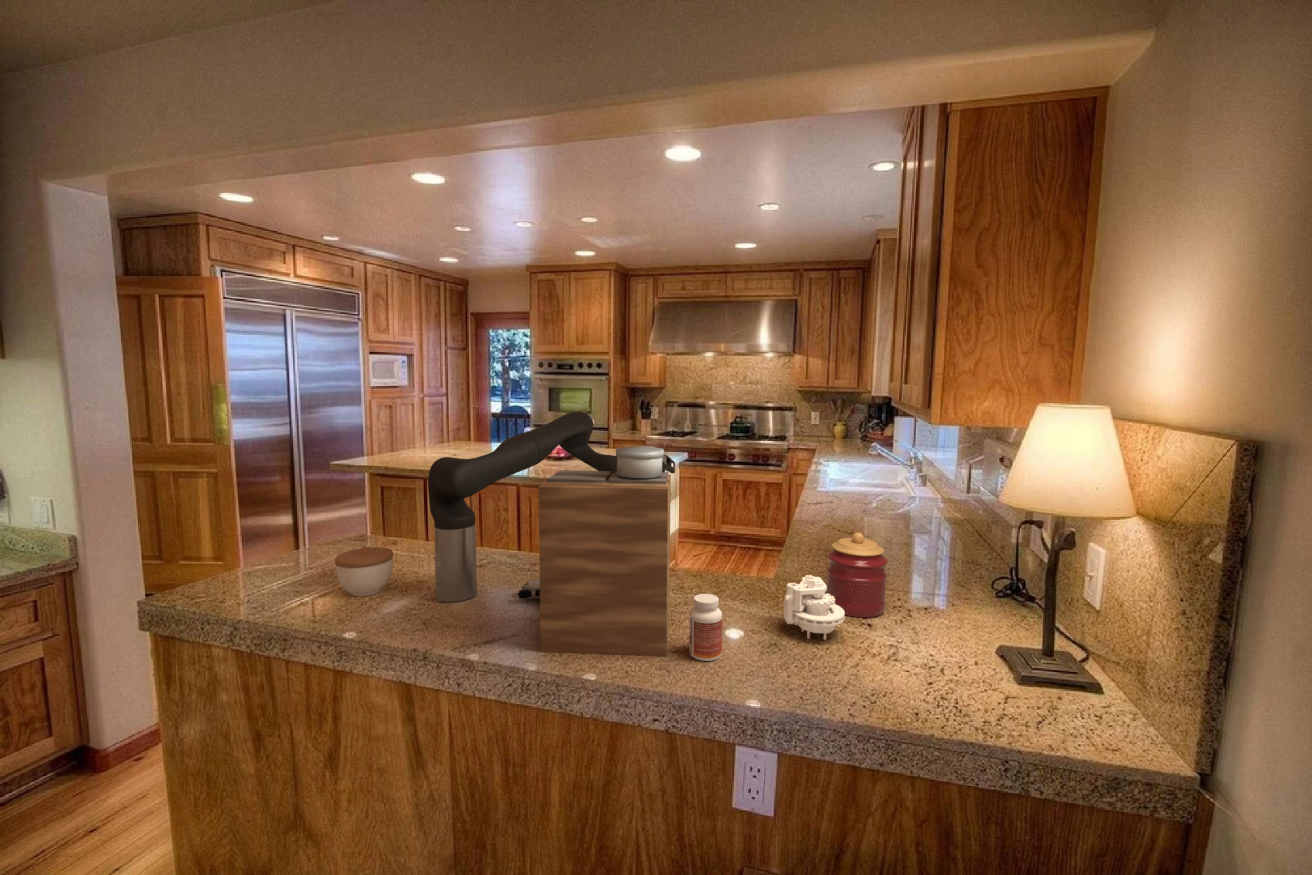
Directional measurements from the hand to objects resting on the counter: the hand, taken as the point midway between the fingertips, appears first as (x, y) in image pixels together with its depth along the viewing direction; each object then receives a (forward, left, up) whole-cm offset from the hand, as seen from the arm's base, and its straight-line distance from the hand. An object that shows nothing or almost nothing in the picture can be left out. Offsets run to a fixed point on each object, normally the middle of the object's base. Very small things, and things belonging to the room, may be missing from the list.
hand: (644, 451), depth 125 cm
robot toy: (-17, +16, -37) cm, 44 cm away
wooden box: (-11, -8, -36) cm, 39 cm away
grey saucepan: (-2, -4, -3) cm, 5 cm away
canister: (+46, -17, -37) cm, 61 cm away
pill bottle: (+3, -23, -37) cm, 43 cm away
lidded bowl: (-57, +39, -37) cm, 78 cm away
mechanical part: (+28, -24, -37) cm, 52 cm away
